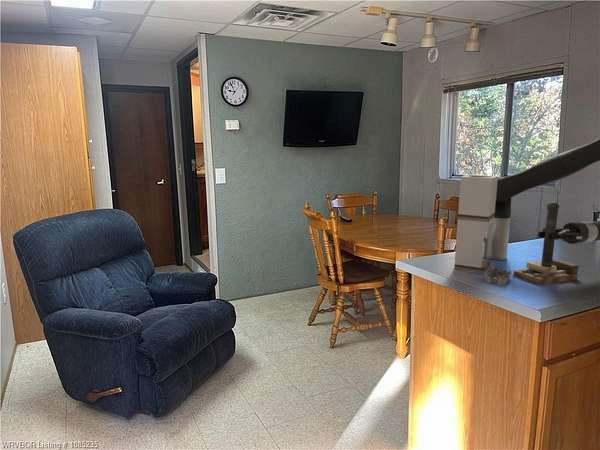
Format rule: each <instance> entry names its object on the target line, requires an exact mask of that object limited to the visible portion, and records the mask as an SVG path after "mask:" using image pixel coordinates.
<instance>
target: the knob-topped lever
mask: <svg viewBox="0 0 600 450" xmlns="http://www.w3.org/2000/svg"><path fill="white" fill-rule="evenodd" d="M559 209H560V204H559V203H558V202H555V201H550V202H549V203H548V204H547V205H546V210H547V211H546V218H545V219H546V220H545V227H544V228H545V236H544V238H543V246H542V247H543V248H542V254H541V255H542V257H541V261H539V260H534V261H528V262H527V261H526V268H525V269H532V270H536V271H539V272H542V273H545V274H547V273H554V272H556V269H557V267H556V266H553V265H552V260H553V258H554V249H555V243H556V240H548V239H547V238H548V234H549V233H556V228H557V225H558V224H557V222H558V215H559V214H558V213H559Z"/></svg>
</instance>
